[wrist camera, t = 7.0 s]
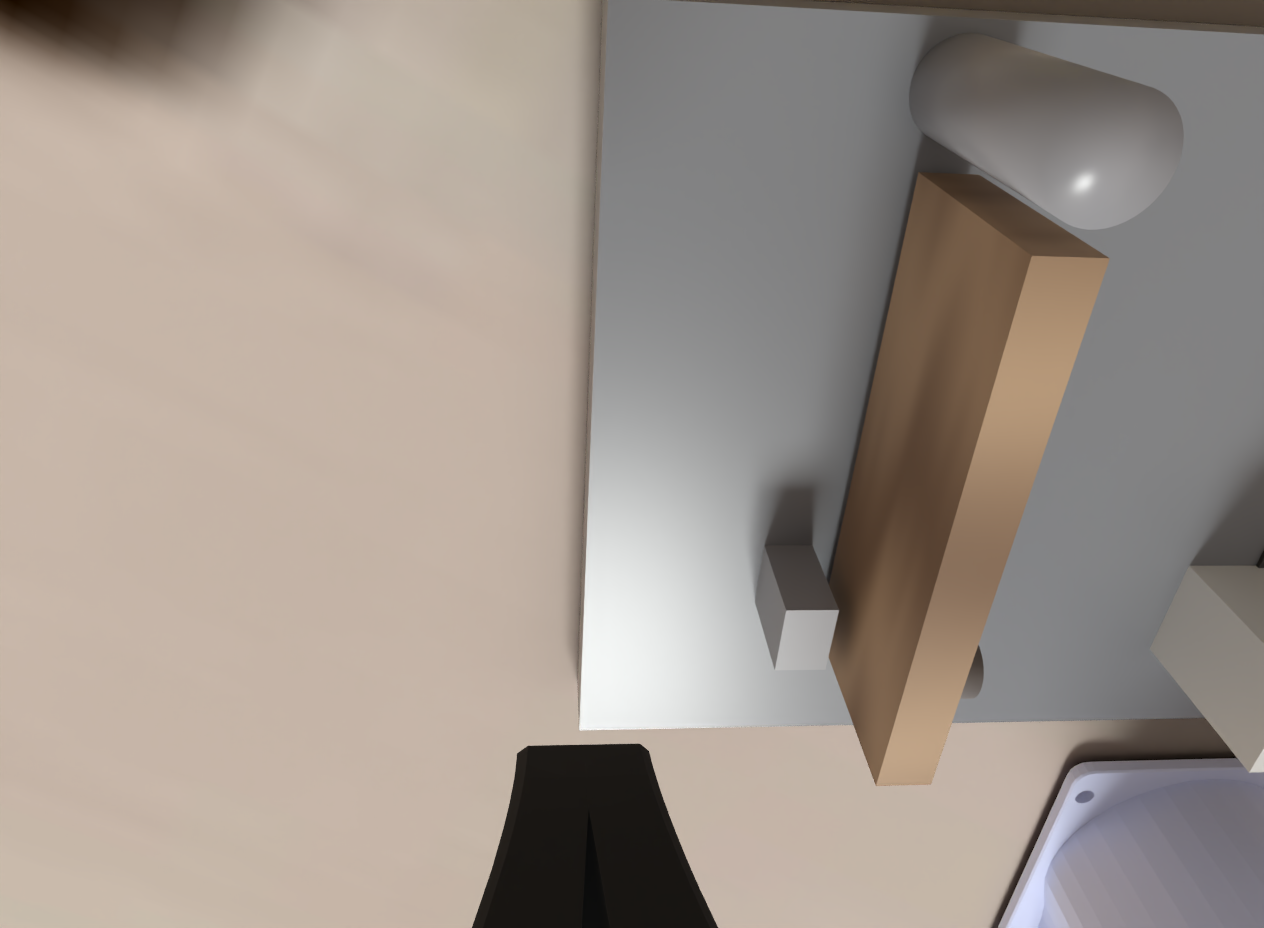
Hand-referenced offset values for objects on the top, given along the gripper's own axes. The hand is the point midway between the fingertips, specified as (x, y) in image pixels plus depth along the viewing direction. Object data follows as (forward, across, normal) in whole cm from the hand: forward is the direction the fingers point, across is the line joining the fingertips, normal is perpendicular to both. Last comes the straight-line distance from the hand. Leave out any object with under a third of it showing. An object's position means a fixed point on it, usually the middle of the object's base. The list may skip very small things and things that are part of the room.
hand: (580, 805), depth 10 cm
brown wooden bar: (+8, -6, 0) cm, 10 cm away
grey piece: (+9, -11, 0) cm, 15 cm away
